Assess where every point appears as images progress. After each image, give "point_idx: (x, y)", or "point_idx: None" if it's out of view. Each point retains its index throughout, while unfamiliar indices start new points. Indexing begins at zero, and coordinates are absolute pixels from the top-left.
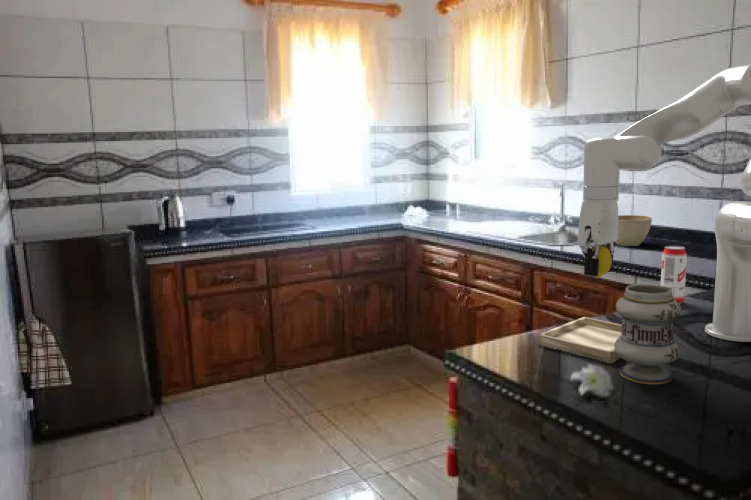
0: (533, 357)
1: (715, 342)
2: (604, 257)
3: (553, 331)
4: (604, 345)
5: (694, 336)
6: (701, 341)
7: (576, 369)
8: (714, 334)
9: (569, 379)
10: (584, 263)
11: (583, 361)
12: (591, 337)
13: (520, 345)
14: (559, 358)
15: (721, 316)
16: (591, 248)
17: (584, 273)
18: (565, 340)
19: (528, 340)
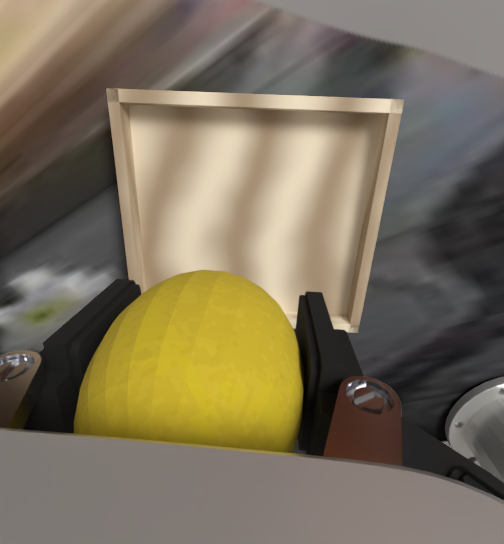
0: (36, 147)
1: (422, 405)
2: None
3: (182, 104)
4: (215, 260)
5: (448, 367)
6: (414, 386)
7: (61, 266)
8: (460, 404)
9: (7, 281)
10: (77, 314)
11: (112, 255)
12: (255, 204)
13: (77, 49)
14: (84, 203)
15: (500, 448)
16: (92, 432)
17: (118, 281)
18: (125, 190)
19: (134, 38)
